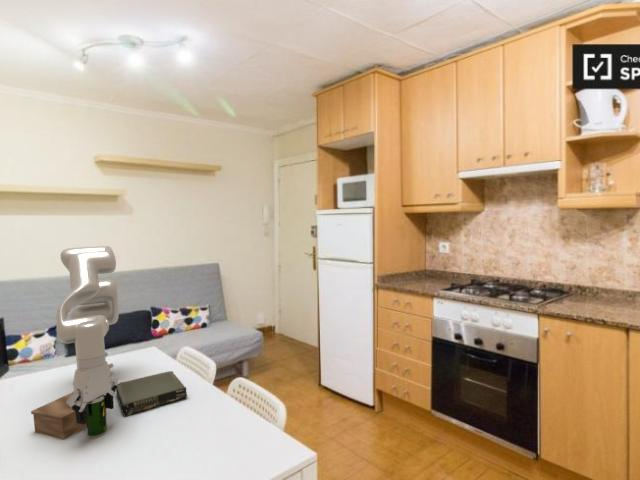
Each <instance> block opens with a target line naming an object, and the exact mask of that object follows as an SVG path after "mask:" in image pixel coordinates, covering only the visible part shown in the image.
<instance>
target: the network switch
mask: <svg viewBox="0 0 640 480" xmlns="http://www.w3.org/2000/svg"><path fill="white" fill-rule="evenodd" d="M115 392H116V397H117V399H118V403H119V406H120V409H121V411H122V415H124V417H128V416H131V415H132V414H134V413H140V412H141V411H145V410H151V409H153V408H157V407H159V406H160V407H162V406H163V405H166V404H169V403H172V402H176V401H179V400H183V399H184V400H186V399H187V387H186V386H185V385H184V383H183V382H182V381H181V380H180V379H179V378H178V377H177V375H176V374H175V373H174V371H173V370H172V371H169V370H168V371H164V372H160V373H156V374H155V373H154V374H152V375H147V376H142V377H139V378H138V377H137V378H134V379H130V380H127V381H122V382H118V384H117V389H116V390H115Z"/></svg>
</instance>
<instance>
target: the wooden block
mask: <svg viewBox="0 0 640 480" xmlns="http://www.w3.org/2000/svg"><path fill="white" fill-rule="evenodd" d="M73 394H74V391H73V392H70V393H68V394H65V395H64V396H61V397H59V398H57V399H55V400H52V401H51V402H48V403H46V404H44V405H41V406H40V407H37V408H35V409H33V410H31V411H30V414H31V415H32V416H33V426H34V433H37V434H41V435H45V436H49V437H53V438H58V439H61V440H65V439H67V438H68V437H70V436H72V435H74V434H76V433H78V432H79V431H81V430H83V429H85V428H87V424H86V423H85V424H80V423H77V421H76V411H74V410H72V409H70V408H69V406H68V405H67V404H66V401H67V400H68V399H69V398H70V397H71V396H72V395H73ZM105 395H106V394H104V395H103V396H105ZM74 403H75V404H76V403H77V401H74ZM81 404H82V403H81ZM81 404H80V406H81ZM80 406H79V407H80ZM105 409H106V410H107V408H105ZM84 410H85V408H84ZM85 412H86V411H85ZM107 415H108V413H106V416H107Z"/></svg>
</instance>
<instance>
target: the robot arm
mask: <svg viewBox="0 0 640 480" xmlns="http://www.w3.org/2000/svg"><path fill="white" fill-rule="evenodd" d="M60 261H61V263H62V265H63V266H64V267H65V268H66V270H67V271H68V272H69V279H70V280H69V281H70V292H69V293H68V294H67V295H66V296H65V297H64V298H63V300H62V301H61V302H60V304H59V305H58V308H57V310H56V317H55V319H56V336H57V339H58V341H59V342H60V343H62V344H72V343H74V346H75V347H74V348H75V360H76V361H75V362H76V369H75V371H74V376H73V392H74V394H73V395H72V396H71V397H70V398H69V399H68V400H67V401H66V404H67V405H68V406H69V408H70V409H72V410H74V411H76V421H77V423H80V424H85V423H86V412H85V410H84V408H85V406H86V404H87V403H88V402H90V401H92V400H94V399H96V398H98V397H100V396H102V395H105V396H104V397H105V408H106V409H109V410H113V409H115V407H114V396H115V395H116V394H115V392H116V389H117V384H119V380H120V379H119V377H118V378H116V377H112V376H111V370H110V369H113V368H114V363H108V361H106V360H107V357H108V353H107V352H106V348H105V347H106V346H105V337H106V335H107V334H108V332H109V330H110V326H111V325H115V324H116V323H117V322H118V320H119V314H120V313H119V312H120V311H119V295H118V288H117V287H118V286H117V284H116V282H115V281H114V280H113V279H99V275H102V274H103V275H104V274H105V275H106V274H112V273H114V272H115V270H116V267H117V260H116V256H115V253H114V250H113V249H112V247H110V246H109V245H103V246H102V245H101V246H99V245H98V246H83V247H82V246H81V247H69V248H66V249H63V250H62V251H61V253H60ZM69 312H70V315H69V316H70V319H69V318H68V314H69ZM74 401H77V403H76V404H75V403H74ZM81 403H82V404H81ZM80 404H81V406H80ZM79 406H80V407H79Z"/></svg>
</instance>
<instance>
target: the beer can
mask: <svg viewBox="0 0 640 480" xmlns="http://www.w3.org/2000/svg"><path fill="white" fill-rule="evenodd" d="M85 411H86V424H87V427H86V431H87V432H86V435H87V436H88V438H89V439H90V438H91V439H96V438H100V437H102V436H103V435H105V434H106V433H107V430H108V426H107V425H108V424H107V415H106V414H107V408H106V409H105V397H104V396H103V395H102V396H100V397H98V398H96V399H94V400H92V401H90V402H88V403H87V404H86V406H85Z"/></svg>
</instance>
